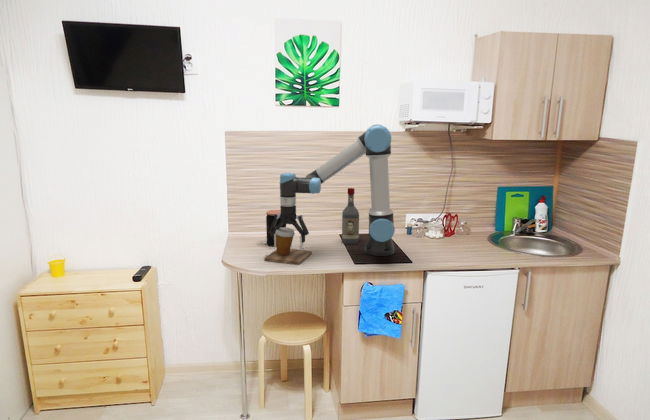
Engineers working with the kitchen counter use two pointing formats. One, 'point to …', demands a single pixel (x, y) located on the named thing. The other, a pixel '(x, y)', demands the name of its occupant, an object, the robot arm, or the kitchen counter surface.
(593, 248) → the kitchen counter surface
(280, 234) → the disposable coffee cup
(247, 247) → the kitchen counter surface
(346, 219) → the liquor
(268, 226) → the coffee jar
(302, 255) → the walnut board
